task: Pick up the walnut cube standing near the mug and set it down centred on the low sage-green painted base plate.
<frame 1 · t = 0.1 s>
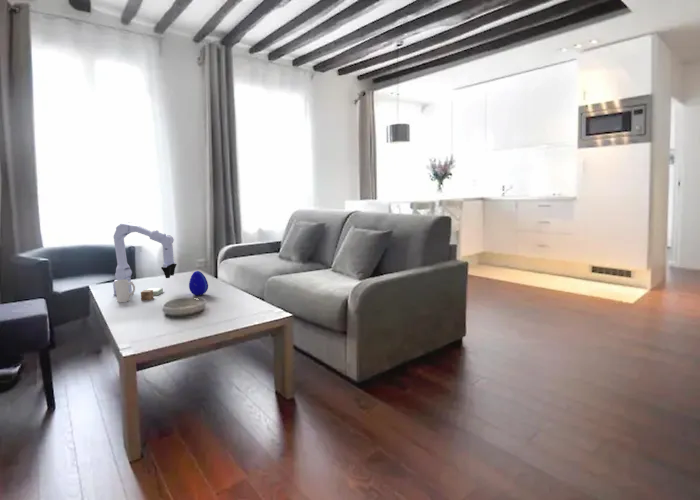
hand: (169, 276, 265), 10 cm above the table, tool pointing down, fingers open, 7 cm apart
base plate: (152, 293, 263), on the table
mug: (126, 300, 248), on the table
walnut cube: (147, 299, 251), on the table
ornament: (198, 295, 259), on the table
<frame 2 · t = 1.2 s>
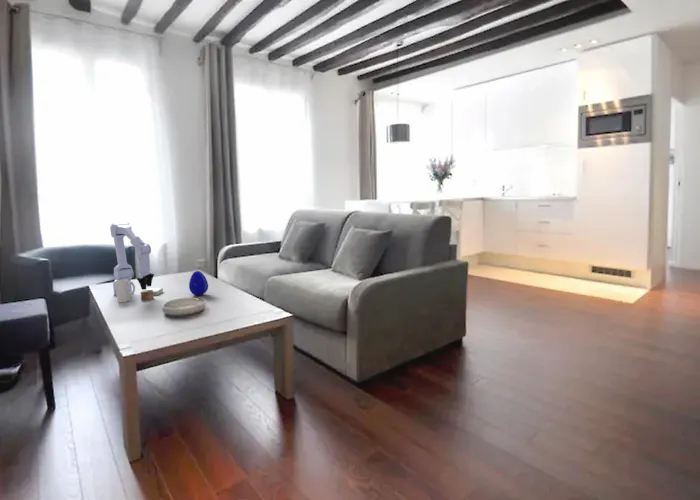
hand: (146, 287, 250), 7 cm above the table, tool pointing down, fingers open, 7 cm apart
nothing on the table moved.
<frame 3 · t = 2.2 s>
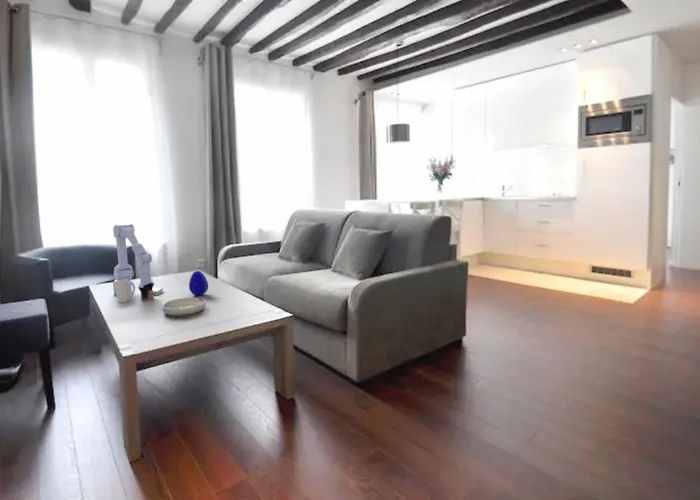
hand: (147, 296, 251), 1 cm above the table, tool pointing down, fingers closed on walnut cube, 5 cm apart
walnut cube: (147, 299, 251), on the table, touching gripper
everything else where it was.
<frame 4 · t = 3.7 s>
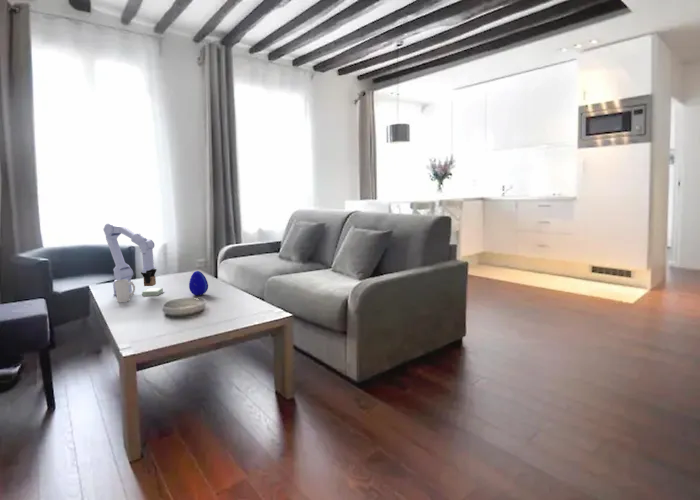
hand: (149, 282, 258), 8 cm above the table, tool pointing down, fingers closed on walnut cube, 5 cm apart
walnut cube: (150, 285, 258), point 7 cm above the table, touching gripper
everything else where it was.
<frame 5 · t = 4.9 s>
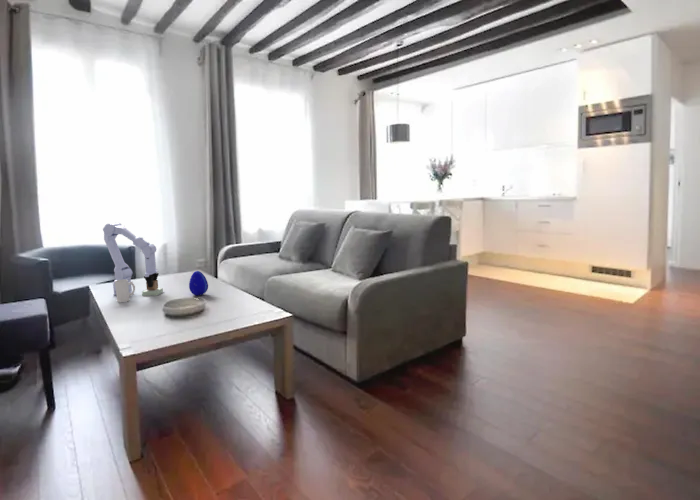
hand: (152, 286, 263), 5 cm above the table, tool pointing down, fingers closed on walnut cube, 5 cm apart
walnut cube: (152, 288, 263), point 3 cm above the table, touching gripper
everything else where it was.
when the fingers open (5 cm above the table, at t = 5.5 s): walnut cube stays where it is, resting on base plate.
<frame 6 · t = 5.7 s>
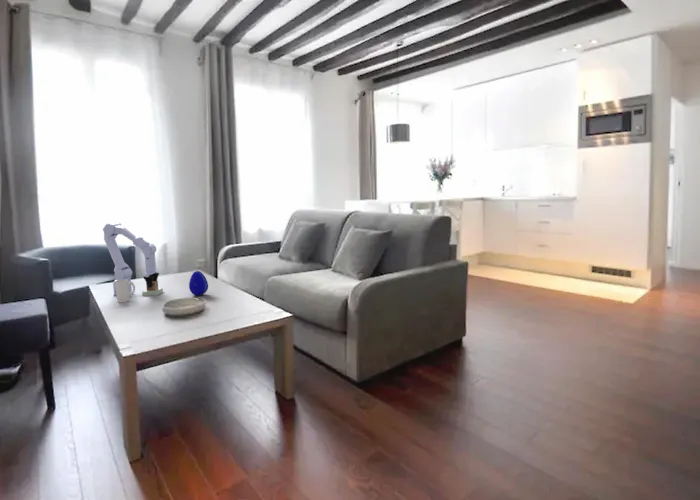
hand: (152, 286, 263), 5 cm above the table, tool pointing down, fingers open, 6 cm apart
walnut cube: (152, 289, 263), point 3 cm above the table, touching base plate
everything else where it was.
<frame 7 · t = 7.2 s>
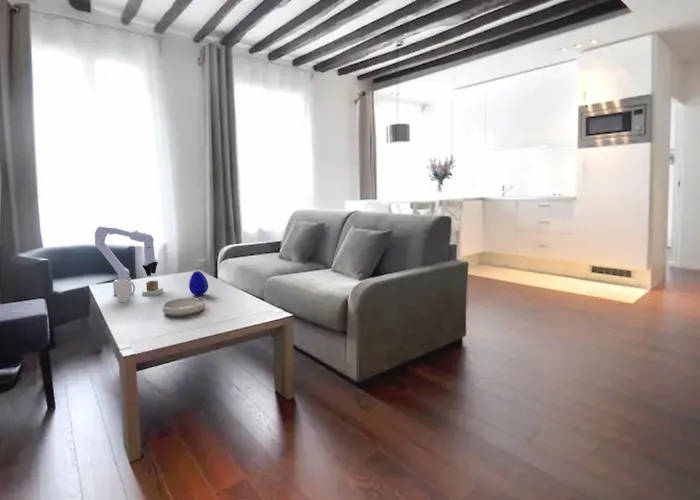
hand: (151, 274, 270), 10 cm above the table, tool pointing down, fingers open, 7 cm apart
nothing on the table moved.
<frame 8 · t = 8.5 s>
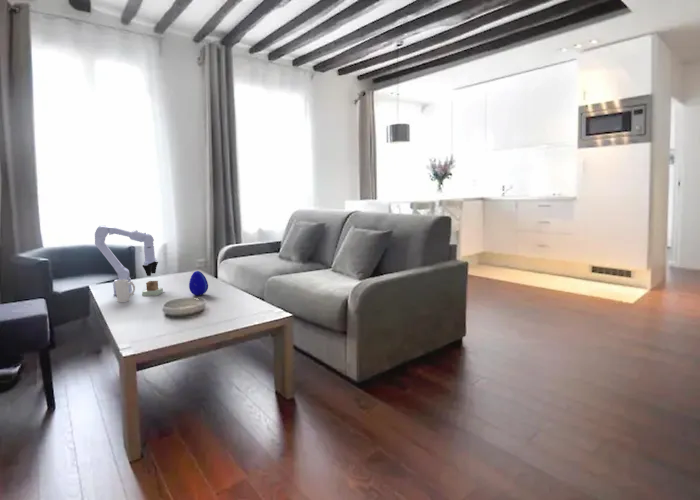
hand: (151, 274, 270), 10 cm above the table, tool pointing down, fingers open, 7 cm apart
nothing on the table moved.
at the end: walnut cube inside the target area on the base plate (0.0 cm from its centre), point 2.6 cm above the base plate's base; walnut cube tilted 0°; the gripper is holding nothing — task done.
